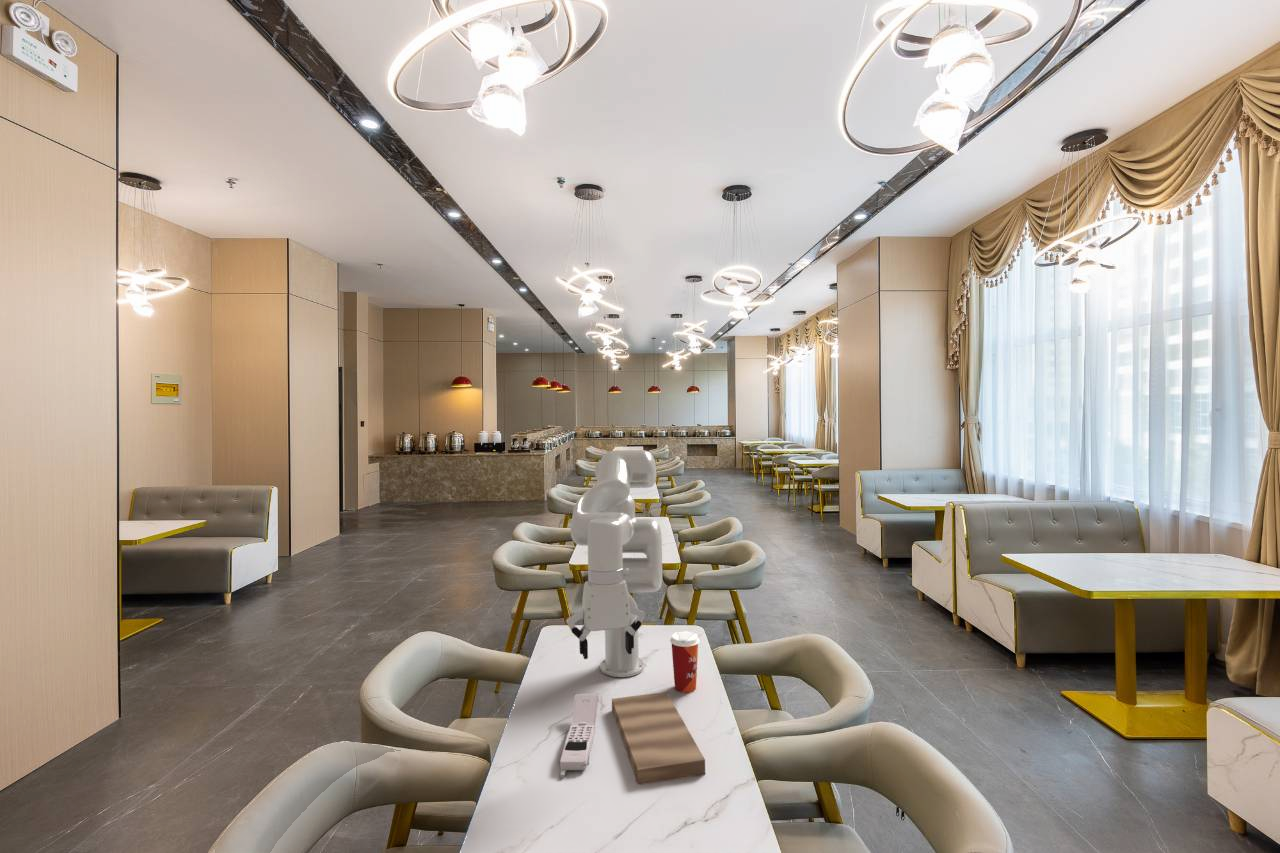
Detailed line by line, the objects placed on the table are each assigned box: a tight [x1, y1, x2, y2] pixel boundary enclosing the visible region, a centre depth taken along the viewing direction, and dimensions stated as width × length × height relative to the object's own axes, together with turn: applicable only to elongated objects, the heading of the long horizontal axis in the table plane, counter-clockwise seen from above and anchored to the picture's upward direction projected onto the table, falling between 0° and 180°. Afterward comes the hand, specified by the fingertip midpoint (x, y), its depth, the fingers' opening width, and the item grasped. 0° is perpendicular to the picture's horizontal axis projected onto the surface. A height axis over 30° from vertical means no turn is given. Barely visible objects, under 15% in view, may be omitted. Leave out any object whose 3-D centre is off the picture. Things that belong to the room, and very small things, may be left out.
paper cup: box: [669, 630, 700, 694], centre depth 162 cm, size 8×8×14 cm
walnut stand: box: [611, 691, 706, 785], centre depth 137 cm, size 30×14×3 cm, turn 13°
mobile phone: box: [559, 693, 600, 779], centre depth 136 cm, size 6×6×25 cm
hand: (606, 654), depth 133 cm, fingers open, 9 cm apart
